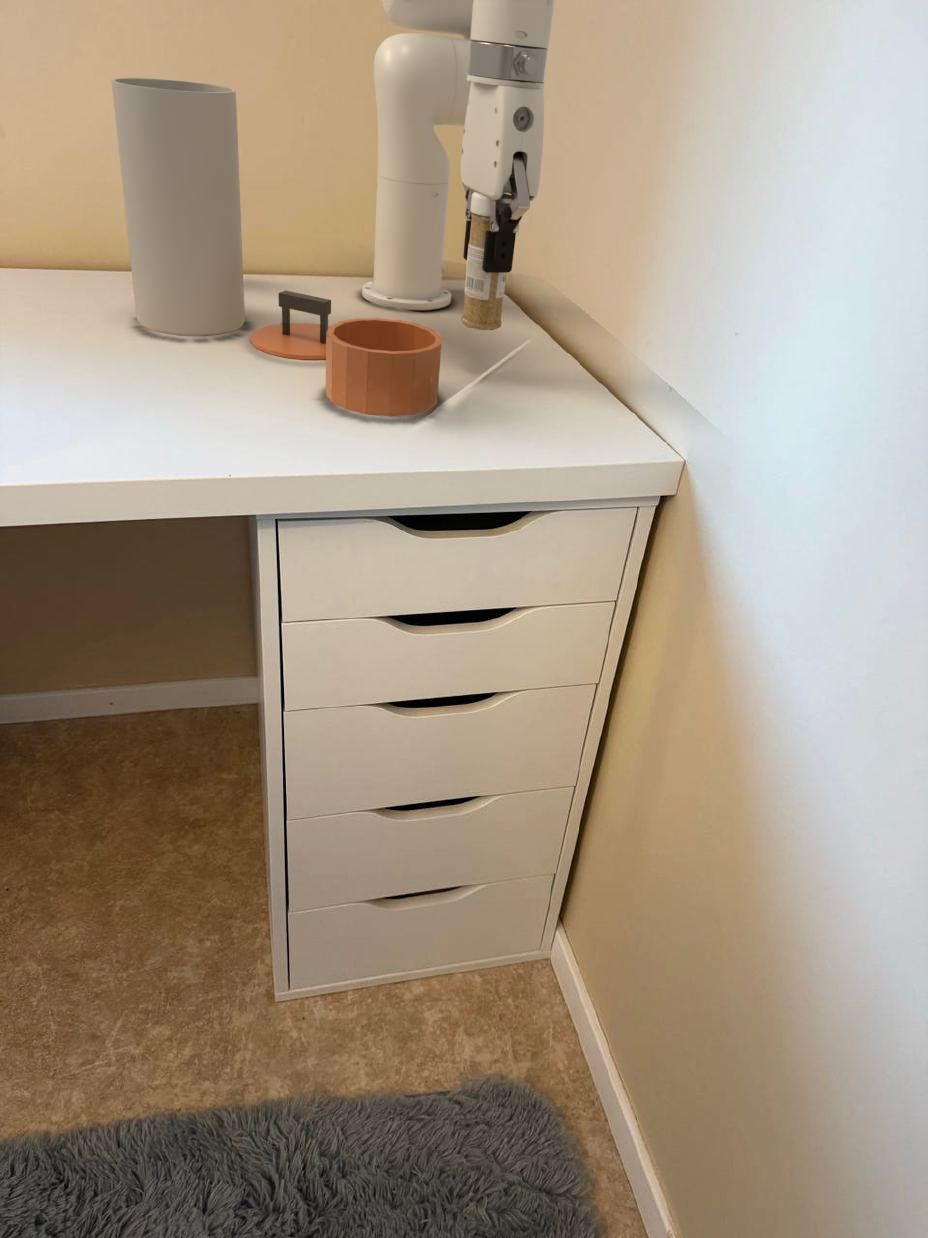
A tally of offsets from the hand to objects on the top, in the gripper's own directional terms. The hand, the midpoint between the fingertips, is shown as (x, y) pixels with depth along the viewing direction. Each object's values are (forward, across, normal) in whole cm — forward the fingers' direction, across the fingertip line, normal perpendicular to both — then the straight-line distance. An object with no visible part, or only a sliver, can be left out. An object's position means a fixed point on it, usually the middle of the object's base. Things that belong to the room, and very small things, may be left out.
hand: (486, 263), depth 97 cm
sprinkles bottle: (+7, 0, 0) cm, 7 cm away
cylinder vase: (+12, +21, +28) cm, 37 cm away
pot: (+12, -6, +13) cm, 19 cm away
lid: (+11, +11, +17) cm, 23 cm away
